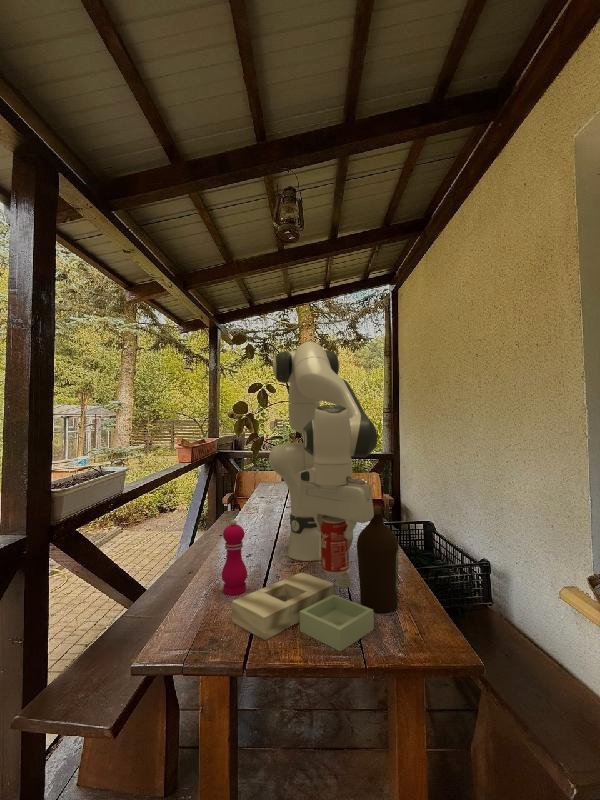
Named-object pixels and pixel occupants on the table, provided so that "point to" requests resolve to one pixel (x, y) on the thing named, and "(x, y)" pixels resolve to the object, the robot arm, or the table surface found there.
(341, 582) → the chalice
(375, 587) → the olive oil
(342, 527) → the beverage can
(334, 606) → the shallow square tray
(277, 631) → the socket beam
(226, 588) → the pepper mill
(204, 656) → the table surface
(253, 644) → the table surface
